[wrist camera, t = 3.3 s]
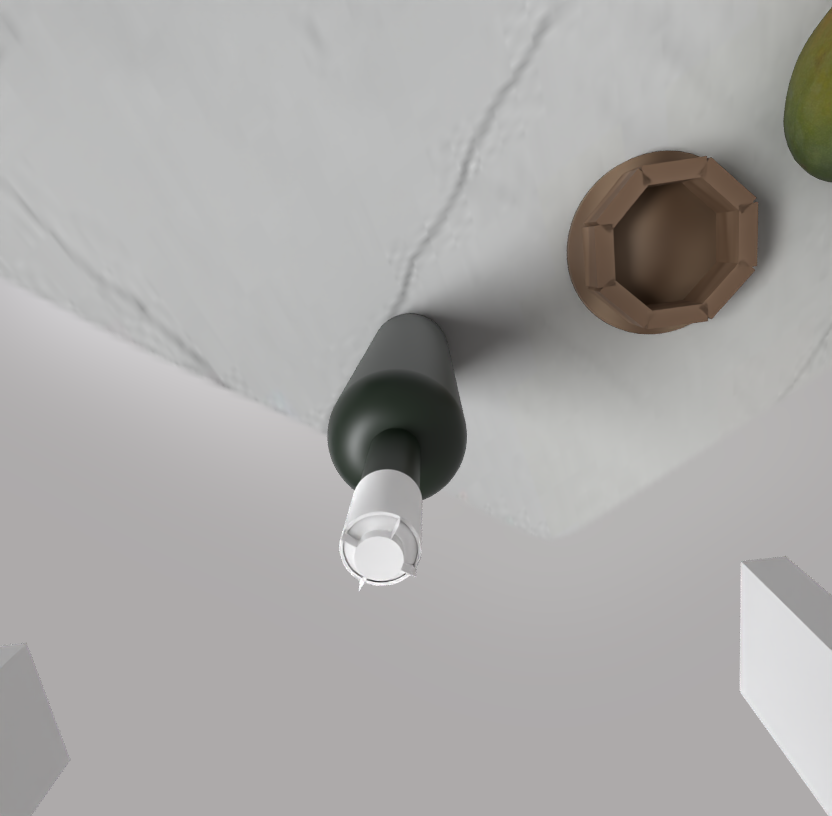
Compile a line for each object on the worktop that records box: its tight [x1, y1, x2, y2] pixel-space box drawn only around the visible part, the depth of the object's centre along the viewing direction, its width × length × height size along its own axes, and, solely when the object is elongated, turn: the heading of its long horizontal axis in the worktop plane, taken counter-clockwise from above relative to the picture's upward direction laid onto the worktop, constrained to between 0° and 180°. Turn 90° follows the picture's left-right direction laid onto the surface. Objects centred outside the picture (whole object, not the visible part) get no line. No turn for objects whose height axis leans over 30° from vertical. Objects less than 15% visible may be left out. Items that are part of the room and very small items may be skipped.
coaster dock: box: [567, 151, 758, 334], centre depth 39 cm, size 12×12×4 cm
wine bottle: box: [327, 314, 467, 591], centre depth 29 cm, size 6×6×30 cm
